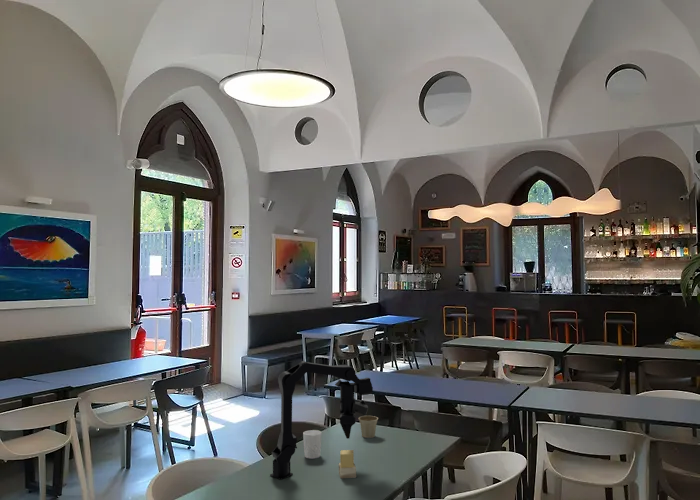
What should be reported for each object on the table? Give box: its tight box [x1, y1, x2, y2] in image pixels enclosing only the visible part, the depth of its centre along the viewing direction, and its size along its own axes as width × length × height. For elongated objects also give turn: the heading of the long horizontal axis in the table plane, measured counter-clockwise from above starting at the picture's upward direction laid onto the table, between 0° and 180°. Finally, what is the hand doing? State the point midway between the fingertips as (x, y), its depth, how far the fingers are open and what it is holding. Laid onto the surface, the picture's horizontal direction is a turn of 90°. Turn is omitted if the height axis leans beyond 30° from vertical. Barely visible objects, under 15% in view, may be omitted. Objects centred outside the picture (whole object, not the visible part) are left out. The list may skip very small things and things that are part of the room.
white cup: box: [302, 429, 322, 460], centre depth 239 cm, size 8×8×10 cm
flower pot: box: [358, 415, 379, 439], centre depth 266 cm, size 9×9×9 cm
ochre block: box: [339, 449, 355, 468], centre depth 216 cm, size 5×5×5 cm
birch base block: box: [338, 462, 357, 479], centre depth 216 cm, size 6×6×4 cm
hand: (347, 435), depth 226 cm, fingers open, 9 cm apart
